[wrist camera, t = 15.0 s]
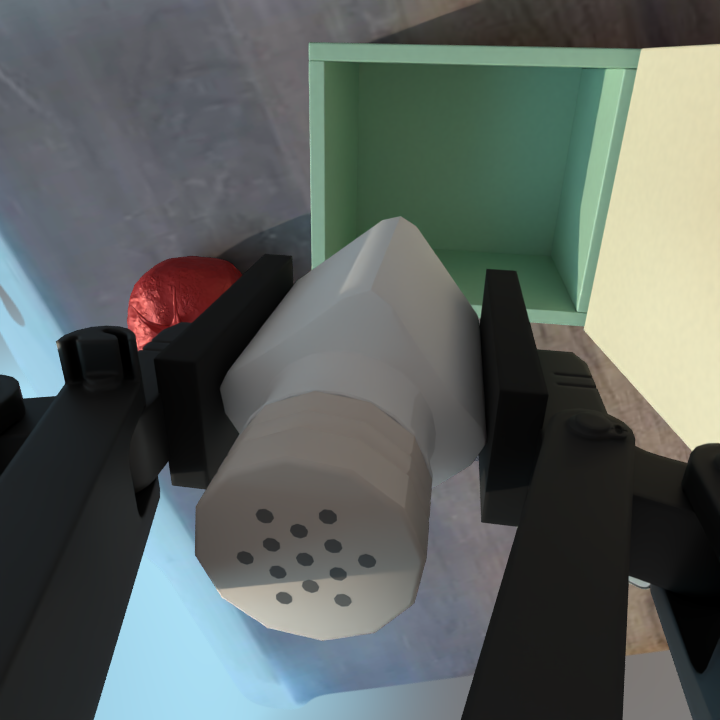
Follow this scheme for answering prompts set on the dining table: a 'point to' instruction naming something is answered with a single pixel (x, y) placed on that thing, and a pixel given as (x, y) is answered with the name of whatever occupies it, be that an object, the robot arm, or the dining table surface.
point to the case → (473, 158)
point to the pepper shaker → (344, 439)
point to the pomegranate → (176, 293)
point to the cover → (666, 243)
